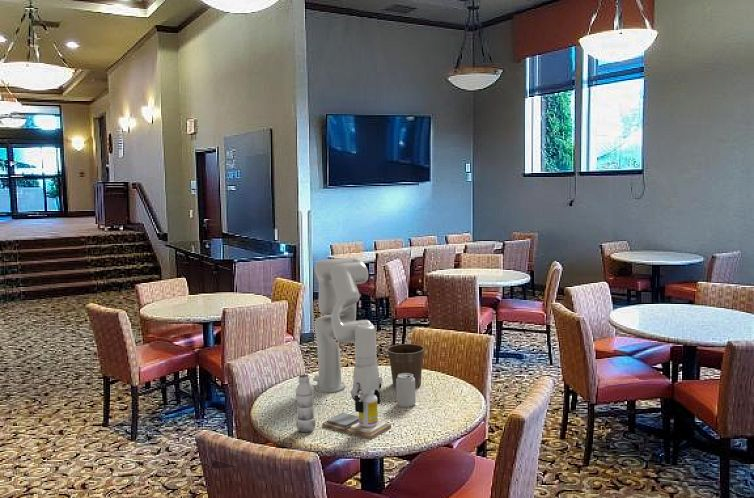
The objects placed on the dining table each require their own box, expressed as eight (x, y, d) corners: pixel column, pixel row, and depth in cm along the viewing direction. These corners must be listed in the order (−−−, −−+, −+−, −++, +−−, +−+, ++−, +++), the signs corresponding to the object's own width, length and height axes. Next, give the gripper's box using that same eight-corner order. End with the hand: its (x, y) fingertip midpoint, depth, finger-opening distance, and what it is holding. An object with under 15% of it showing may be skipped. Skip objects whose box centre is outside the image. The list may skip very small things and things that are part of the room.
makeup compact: (322, 426, 224) (322, 421, 224) (343, 415, 233) (343, 410, 233) (371, 439, 211) (370, 433, 211) (391, 427, 220) (390, 422, 220)
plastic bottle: (297, 427, 223) (294, 374, 221) (316, 426, 224) (313, 372, 222) (296, 435, 217) (293, 379, 215) (315, 433, 217) (313, 378, 215)
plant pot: (381, 382, 270) (380, 346, 269) (414, 376, 277) (413, 341, 276) (398, 393, 256) (397, 355, 254) (432, 387, 263) (431, 350, 261)
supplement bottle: (380, 422, 221) (379, 386, 220) (374, 428, 215) (374, 392, 214) (362, 419, 223) (362, 385, 222) (356, 426, 217) (355, 390, 216)
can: (414, 408, 238) (413, 378, 237) (395, 407, 240) (394, 377, 239) (417, 401, 246) (416, 372, 244) (398, 400, 247) (397, 371, 246)
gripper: (372, 352, 225) (373, 398, 227) (342, 365, 211) (344, 413, 213) (389, 355, 221) (390, 402, 223) (359, 368, 207) (361, 417, 209)
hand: (367, 407), depth 218 cm, fingers open, 9 cm apart
